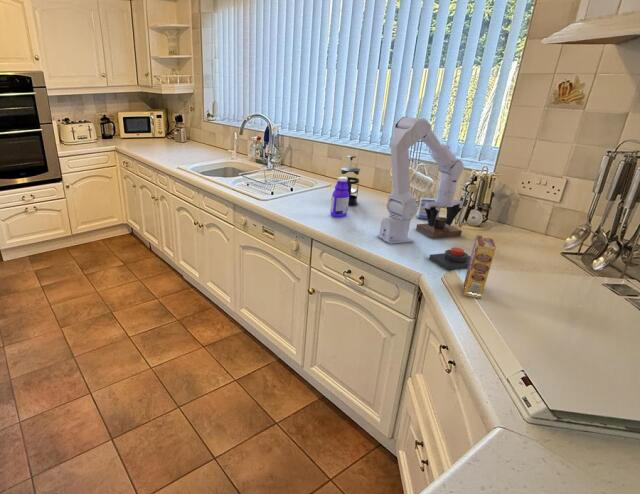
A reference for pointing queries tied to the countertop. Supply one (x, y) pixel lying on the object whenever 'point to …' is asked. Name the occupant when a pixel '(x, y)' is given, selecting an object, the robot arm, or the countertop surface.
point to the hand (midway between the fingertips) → (439, 225)
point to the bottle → (340, 198)
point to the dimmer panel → (438, 231)
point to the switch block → (451, 260)
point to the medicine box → (421, 210)
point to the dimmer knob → (440, 222)
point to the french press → (351, 182)
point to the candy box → (479, 265)
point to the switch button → (457, 251)
